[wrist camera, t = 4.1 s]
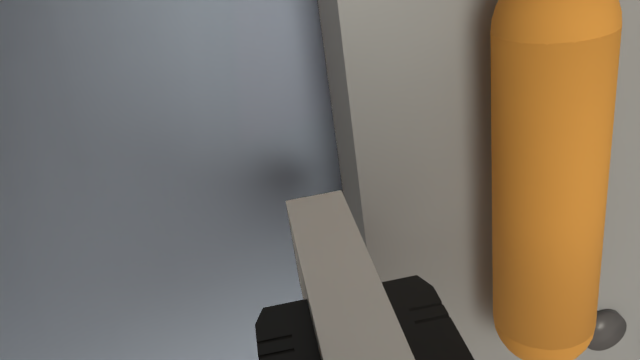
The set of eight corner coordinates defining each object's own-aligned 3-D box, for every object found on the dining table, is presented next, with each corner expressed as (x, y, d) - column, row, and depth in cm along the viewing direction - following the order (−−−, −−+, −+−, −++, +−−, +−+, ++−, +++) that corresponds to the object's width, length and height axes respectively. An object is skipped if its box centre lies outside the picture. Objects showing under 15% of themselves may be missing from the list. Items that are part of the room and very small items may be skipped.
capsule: (478, 332, 21) (518, 397, 18) (470, -35, 15) (525, -19, 13) (561, 313, 21) (613, 375, 18) (581, -53, 16) (658, -42, 13)
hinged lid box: (363, 350, 25) (391, 431, 21) (298, -141, 17) (324, -150, 13) (735, 268, 26) (821, 330, 23) (835, -220, 18) (994, -248, 15)
